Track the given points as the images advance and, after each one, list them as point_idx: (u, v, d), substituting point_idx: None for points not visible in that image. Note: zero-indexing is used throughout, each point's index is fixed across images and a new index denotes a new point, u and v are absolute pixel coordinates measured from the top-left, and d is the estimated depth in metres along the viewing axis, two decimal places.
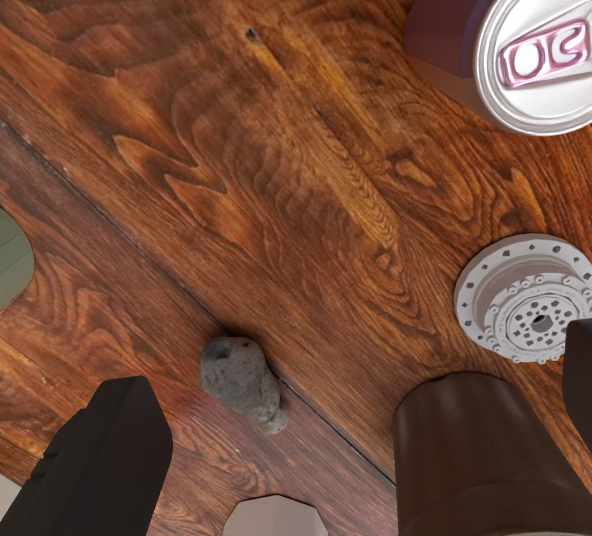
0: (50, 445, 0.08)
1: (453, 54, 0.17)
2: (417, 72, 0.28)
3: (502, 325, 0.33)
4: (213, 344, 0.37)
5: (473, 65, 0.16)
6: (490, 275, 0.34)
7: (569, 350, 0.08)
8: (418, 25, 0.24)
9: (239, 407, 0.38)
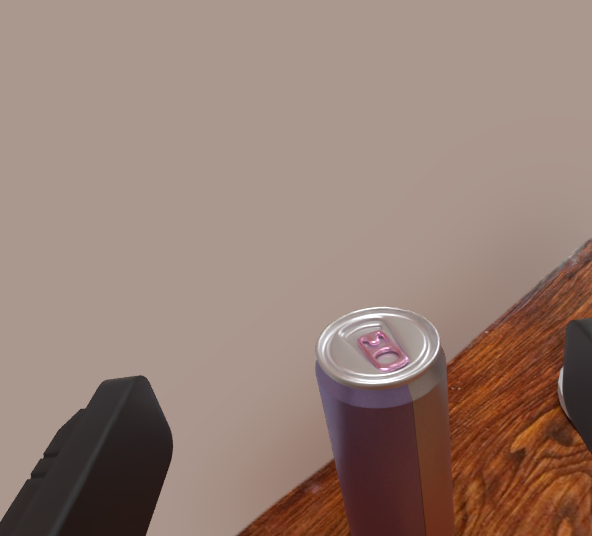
0: (50, 444, 0.08)
1: (398, 422, 0.20)
2: None
3: None
4: None
5: (397, 382, 0.19)
6: None
7: (569, 350, 0.08)
8: None
9: None
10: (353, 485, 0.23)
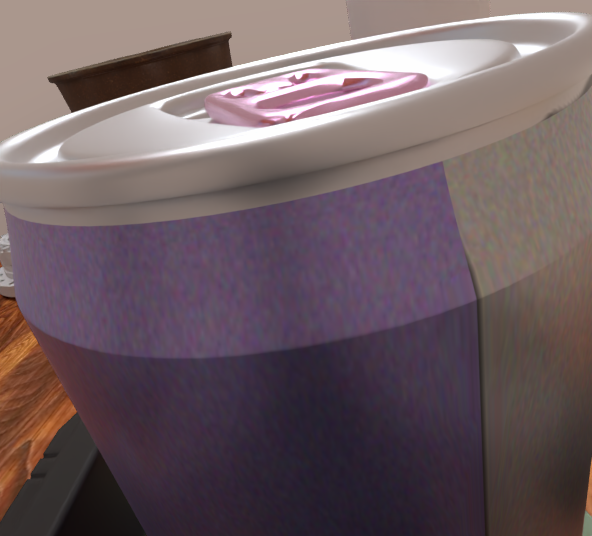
0: (50, 444, 0.08)
1: (381, 447, 0.03)
2: None
3: None
4: None
5: (363, 127, 0.02)
6: None
7: None
8: None
9: None
10: None
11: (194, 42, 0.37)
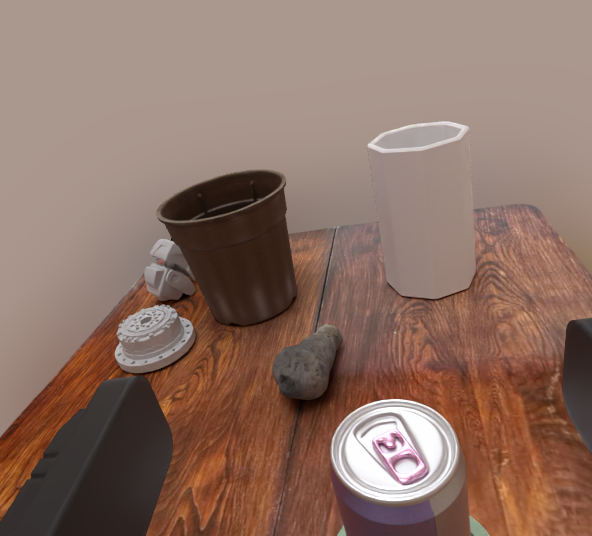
0: (50, 444, 0.08)
1: None
2: None
3: (156, 326, 0.57)
4: (288, 390, 0.44)
5: (418, 499, 0.18)
6: (146, 355, 0.56)
7: (569, 350, 0.08)
8: None
9: (311, 342, 0.47)
10: None
11: (265, 199, 0.53)
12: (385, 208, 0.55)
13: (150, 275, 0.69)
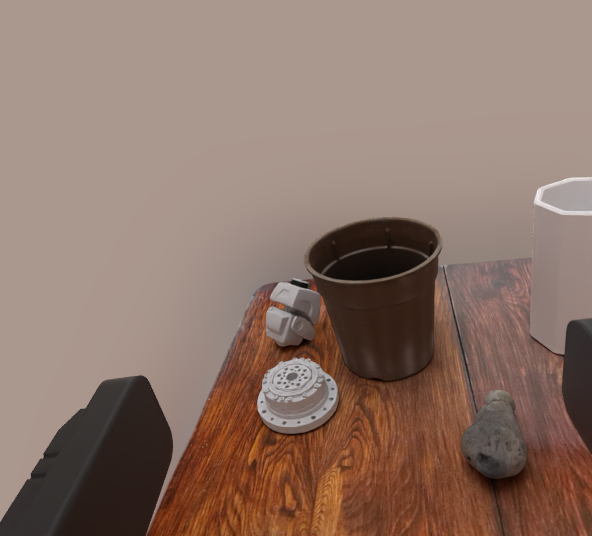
0: (50, 444, 0.08)
1: None
2: None
3: (308, 384, 0.55)
4: (490, 471, 0.42)
5: None
6: (298, 415, 0.54)
7: (569, 350, 0.08)
8: None
9: (500, 415, 0.46)
10: None
11: (433, 259, 0.51)
12: (551, 267, 0.53)
13: (274, 321, 0.67)
